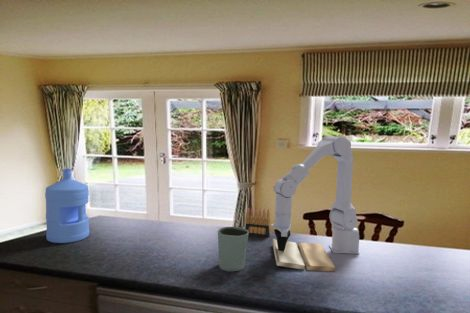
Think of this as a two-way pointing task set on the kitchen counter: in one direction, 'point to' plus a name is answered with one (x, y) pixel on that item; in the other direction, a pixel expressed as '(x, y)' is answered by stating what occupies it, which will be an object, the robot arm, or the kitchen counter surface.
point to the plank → (288, 256)
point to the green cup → (232, 248)
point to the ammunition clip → (258, 223)
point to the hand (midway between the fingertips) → (281, 250)
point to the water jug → (66, 210)
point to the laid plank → (315, 257)
